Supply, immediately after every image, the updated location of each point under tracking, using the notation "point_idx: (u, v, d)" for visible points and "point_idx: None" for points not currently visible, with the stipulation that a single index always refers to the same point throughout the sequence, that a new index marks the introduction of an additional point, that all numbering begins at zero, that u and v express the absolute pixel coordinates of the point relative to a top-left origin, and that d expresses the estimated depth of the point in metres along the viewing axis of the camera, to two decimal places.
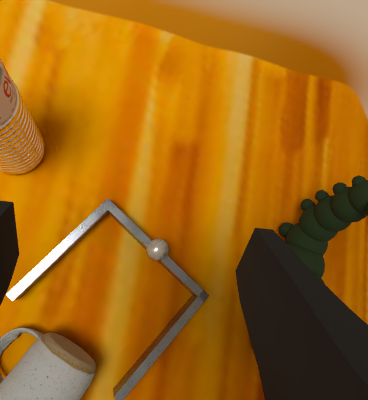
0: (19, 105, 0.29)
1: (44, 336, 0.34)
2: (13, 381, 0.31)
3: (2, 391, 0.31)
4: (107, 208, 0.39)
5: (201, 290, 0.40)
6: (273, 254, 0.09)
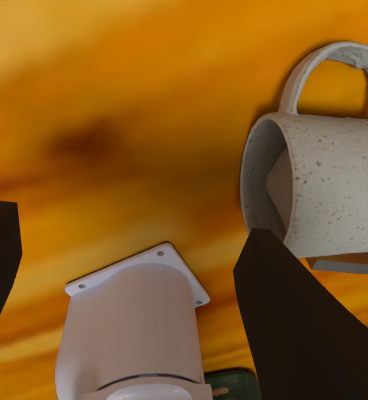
0: None
1: None
2: (361, 163, 0.15)
3: (337, 156, 0.14)
4: None
5: None
6: (270, 254, 0.09)
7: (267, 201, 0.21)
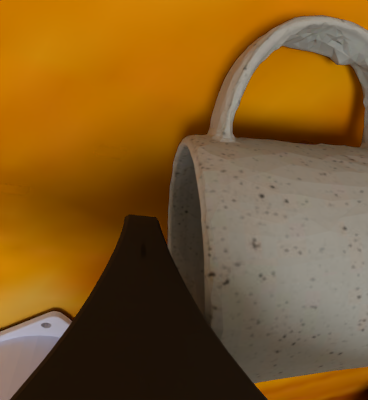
0: None
1: None
2: (338, 240, 0.08)
3: (292, 228, 0.08)
4: None
5: None
6: (136, 242, 0.08)
7: None
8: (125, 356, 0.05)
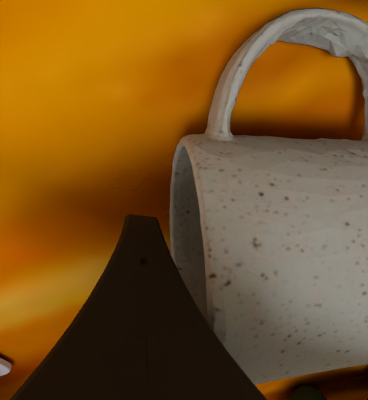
0: None
1: None
2: (340, 236, 0.08)
3: (293, 225, 0.07)
4: None
5: None
6: (136, 242, 0.08)
7: None
8: (125, 356, 0.05)
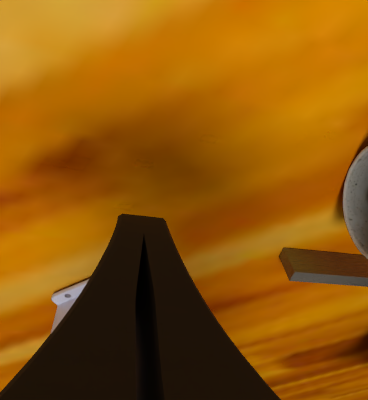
0: None
1: None
2: None
3: None
4: None
5: None
6: (145, 243, 0.08)
7: None
8: (113, 356, 0.05)
